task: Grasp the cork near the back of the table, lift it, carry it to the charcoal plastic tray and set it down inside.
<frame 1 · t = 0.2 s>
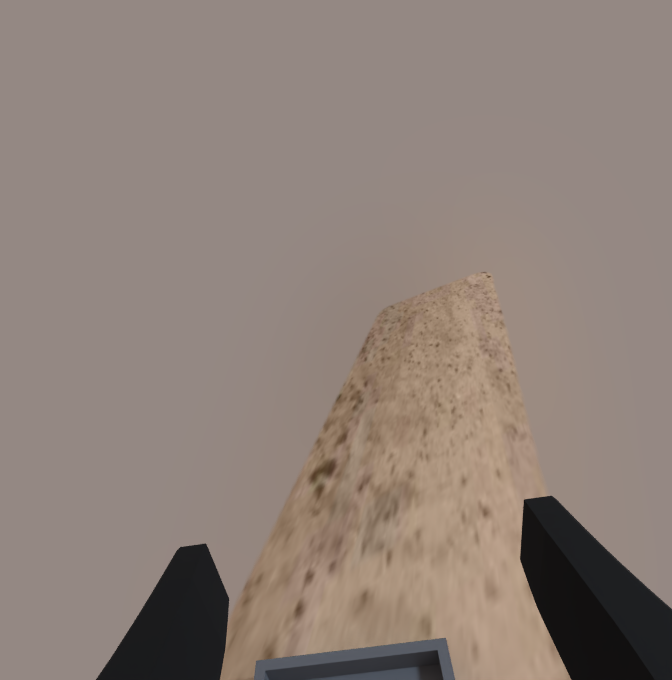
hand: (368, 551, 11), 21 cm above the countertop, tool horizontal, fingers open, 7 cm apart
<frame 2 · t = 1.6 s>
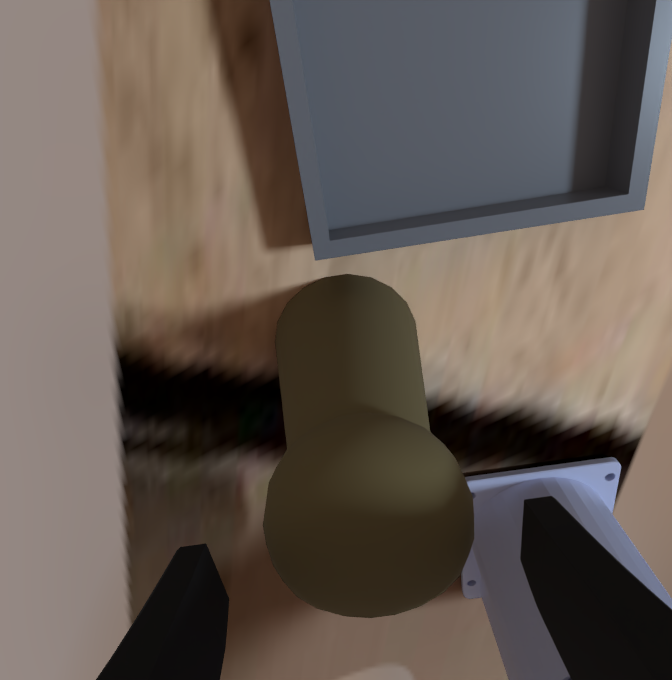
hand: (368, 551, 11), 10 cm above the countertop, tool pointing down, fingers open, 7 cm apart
cork: (346, 339, 20), on the countertop
tray: (457, 48, 15), on the countertop
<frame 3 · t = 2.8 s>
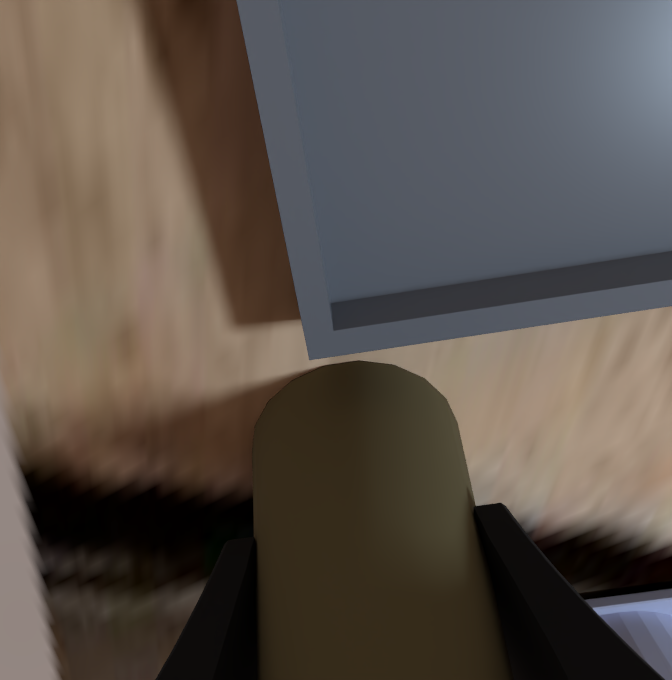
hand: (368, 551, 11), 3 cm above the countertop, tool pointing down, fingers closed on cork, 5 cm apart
cork: (355, 445, 14), on the countertop, touching gripper
tray: (552, 9, 9), on the countertop
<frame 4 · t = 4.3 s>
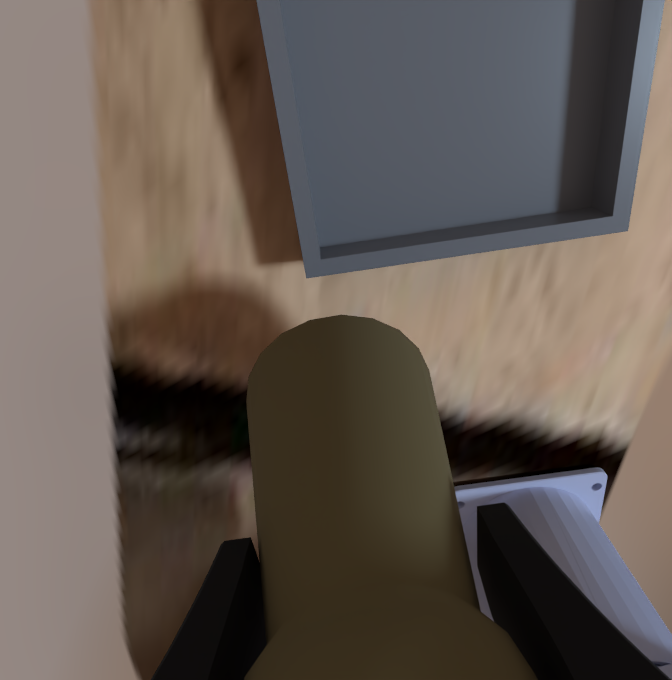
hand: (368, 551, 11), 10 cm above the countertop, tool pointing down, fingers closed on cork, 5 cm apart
cork: (339, 393, 16), point 5 cm above the countertop, touching gripper
tray: (446, 72, 15), on the countertop
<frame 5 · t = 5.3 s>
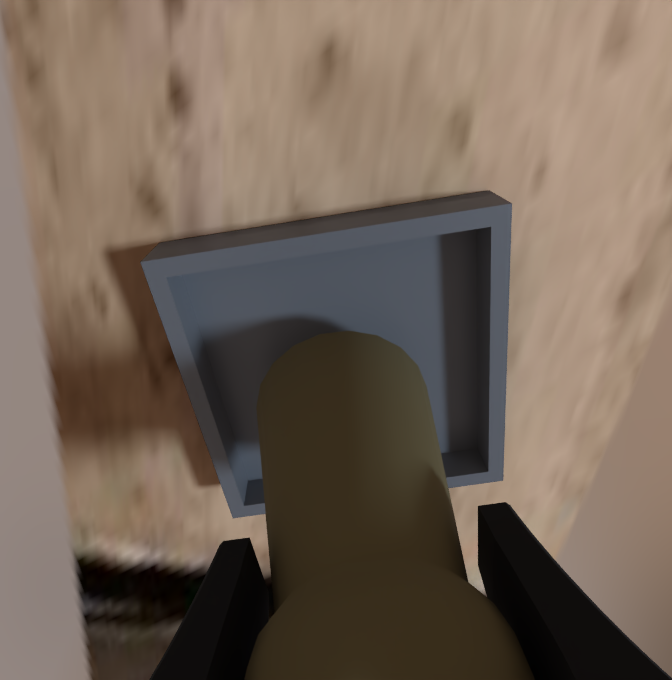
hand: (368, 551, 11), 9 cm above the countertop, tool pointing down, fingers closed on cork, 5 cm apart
cork: (342, 405, 17), point 2 cm above the countertop, touching gripper
tray: (345, 358, 18), on the countertop
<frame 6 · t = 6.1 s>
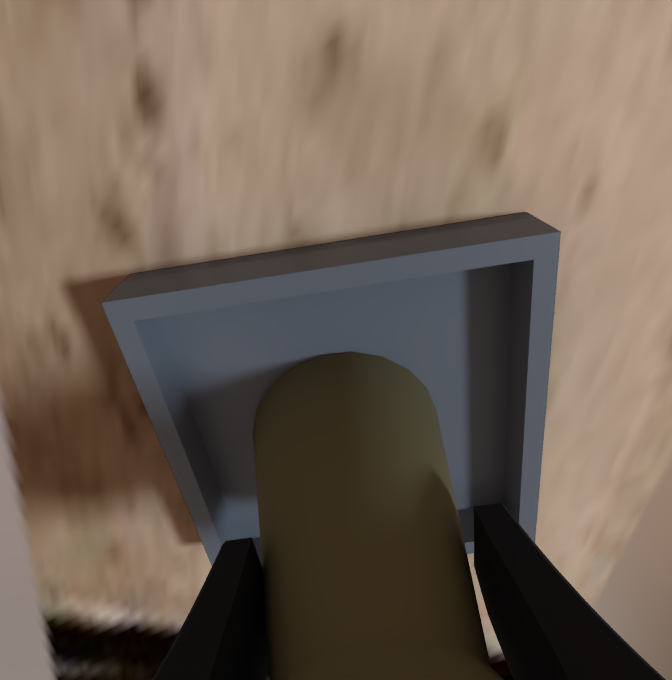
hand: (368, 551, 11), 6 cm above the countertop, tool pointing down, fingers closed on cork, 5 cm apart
cork: (345, 428, 16), resting on tray, touching gripper
tray: (351, 405, 16), on the countertop
when the fingers open (6 cm above the countertop, at t = 6.3 s): cork stays where it is, resting on tray.
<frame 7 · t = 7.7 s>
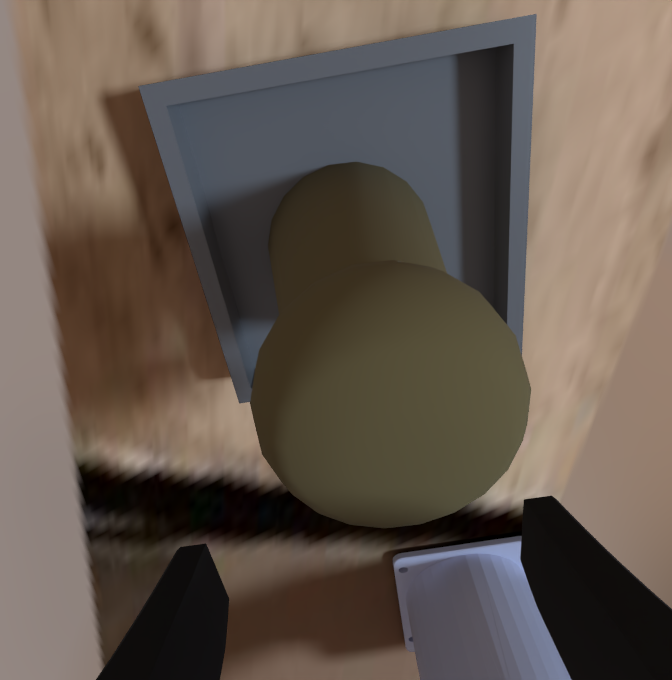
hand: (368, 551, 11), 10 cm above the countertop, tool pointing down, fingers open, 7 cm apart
cork: (350, 246, 17), resting on tray
tray: (355, 228, 17), on the countertop
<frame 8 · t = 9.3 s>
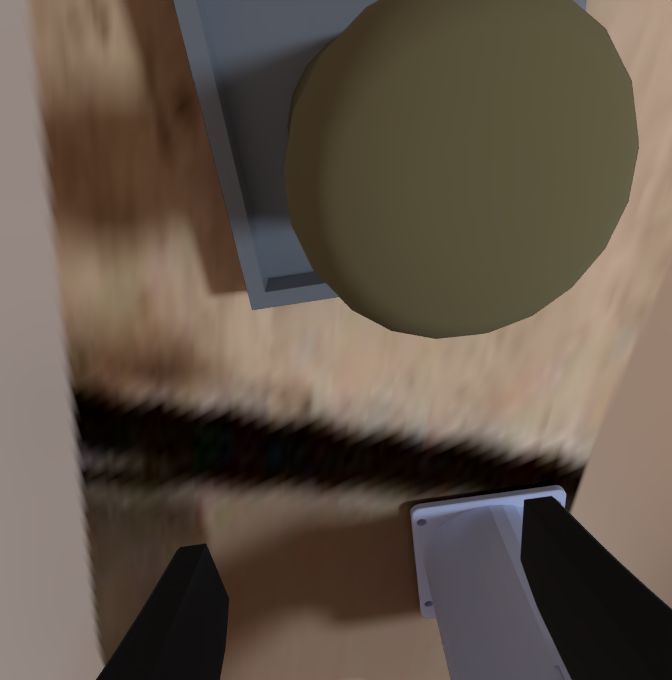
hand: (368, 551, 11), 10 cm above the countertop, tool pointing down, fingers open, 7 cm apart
cork: (377, 132, 16), resting on tray
tray: (383, 112, 16), on the countertop
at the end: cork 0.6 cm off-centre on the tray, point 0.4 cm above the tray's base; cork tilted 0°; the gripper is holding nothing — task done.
